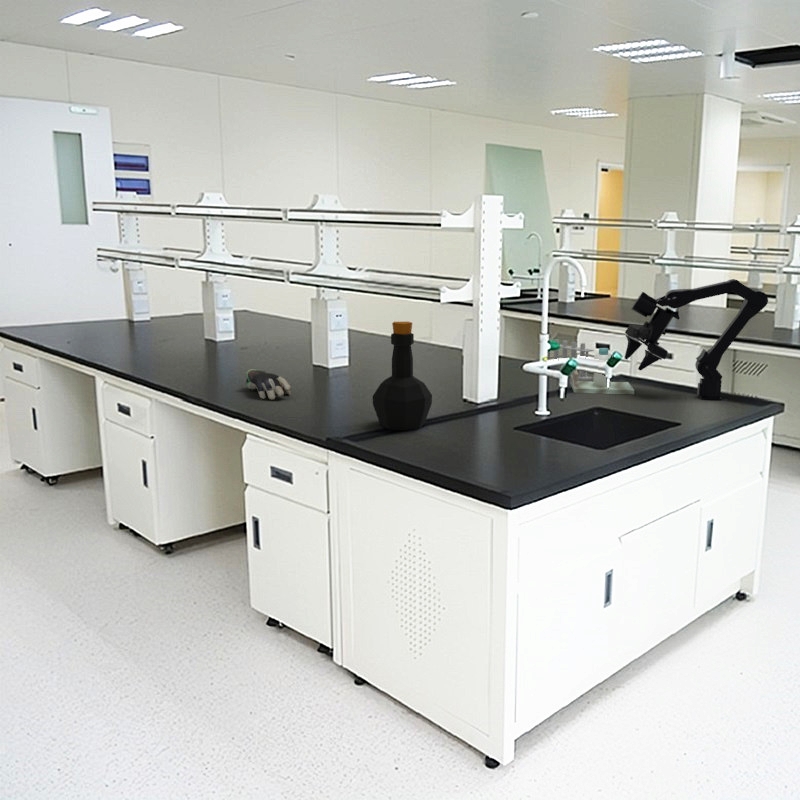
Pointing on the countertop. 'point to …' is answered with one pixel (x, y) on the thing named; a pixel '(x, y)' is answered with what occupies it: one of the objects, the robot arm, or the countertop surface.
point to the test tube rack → (573, 354)
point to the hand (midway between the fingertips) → (632, 364)
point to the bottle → (402, 387)
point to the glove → (267, 384)
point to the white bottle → (600, 379)
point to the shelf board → (589, 388)
